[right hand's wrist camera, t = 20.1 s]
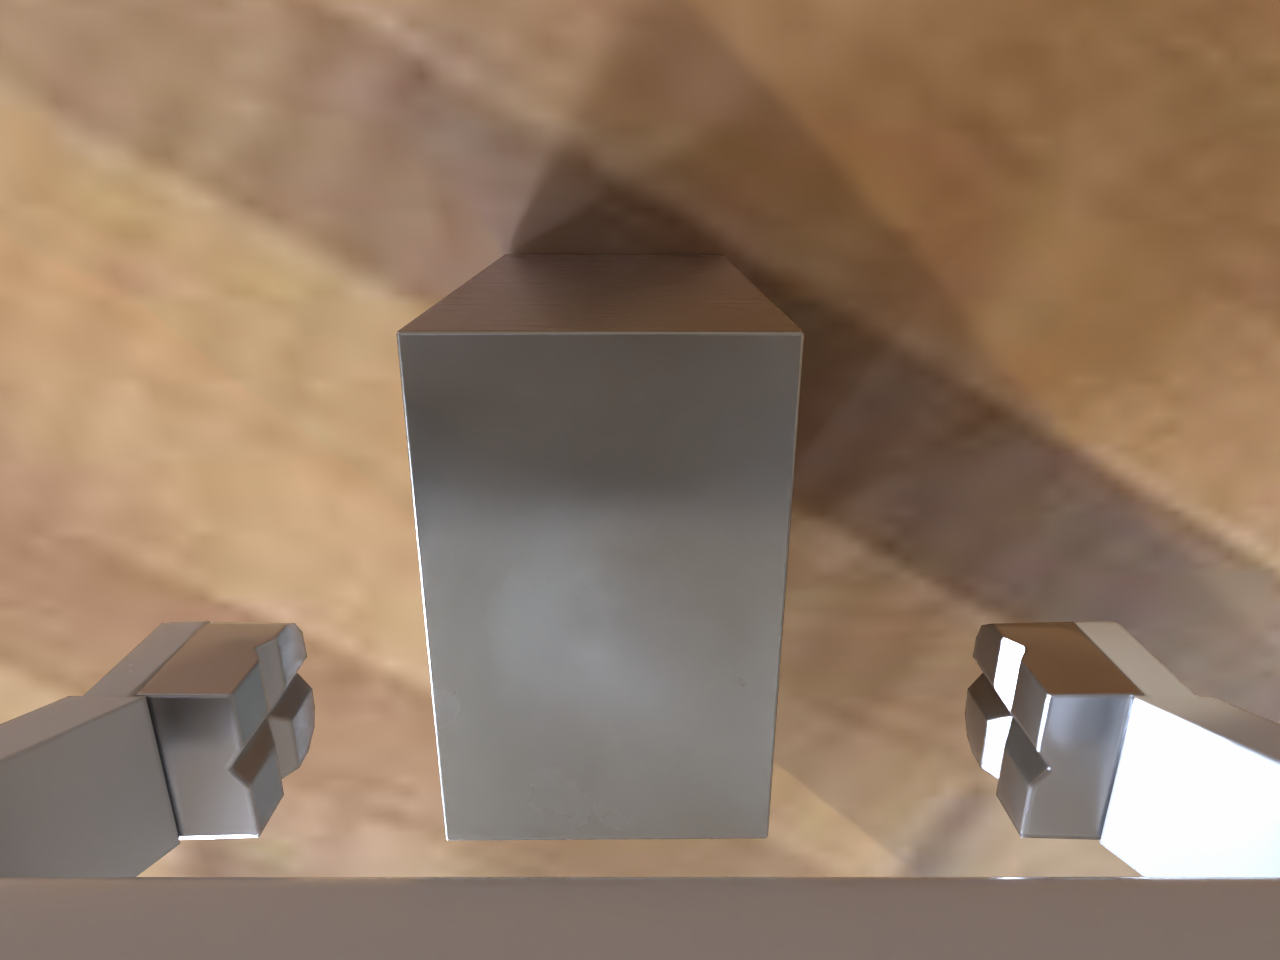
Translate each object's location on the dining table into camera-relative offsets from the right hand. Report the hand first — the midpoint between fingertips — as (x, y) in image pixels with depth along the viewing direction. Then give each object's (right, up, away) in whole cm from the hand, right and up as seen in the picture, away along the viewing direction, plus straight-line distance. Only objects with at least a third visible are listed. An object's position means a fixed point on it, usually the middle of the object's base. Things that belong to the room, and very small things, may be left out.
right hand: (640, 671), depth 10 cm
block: (-1, +4, +11) cm, 11 cm away
